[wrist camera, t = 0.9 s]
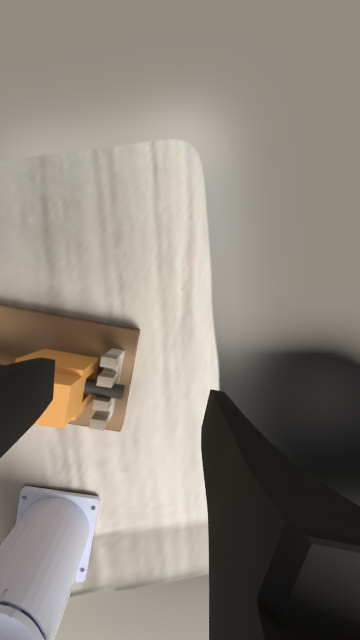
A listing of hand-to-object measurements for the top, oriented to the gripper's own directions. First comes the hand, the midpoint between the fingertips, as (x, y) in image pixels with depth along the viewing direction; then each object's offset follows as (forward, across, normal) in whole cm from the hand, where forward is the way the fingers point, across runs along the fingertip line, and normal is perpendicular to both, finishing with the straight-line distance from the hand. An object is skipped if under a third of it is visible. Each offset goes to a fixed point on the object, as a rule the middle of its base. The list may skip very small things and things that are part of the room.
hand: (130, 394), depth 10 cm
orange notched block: (+10, +8, +6) cm, 14 cm away
